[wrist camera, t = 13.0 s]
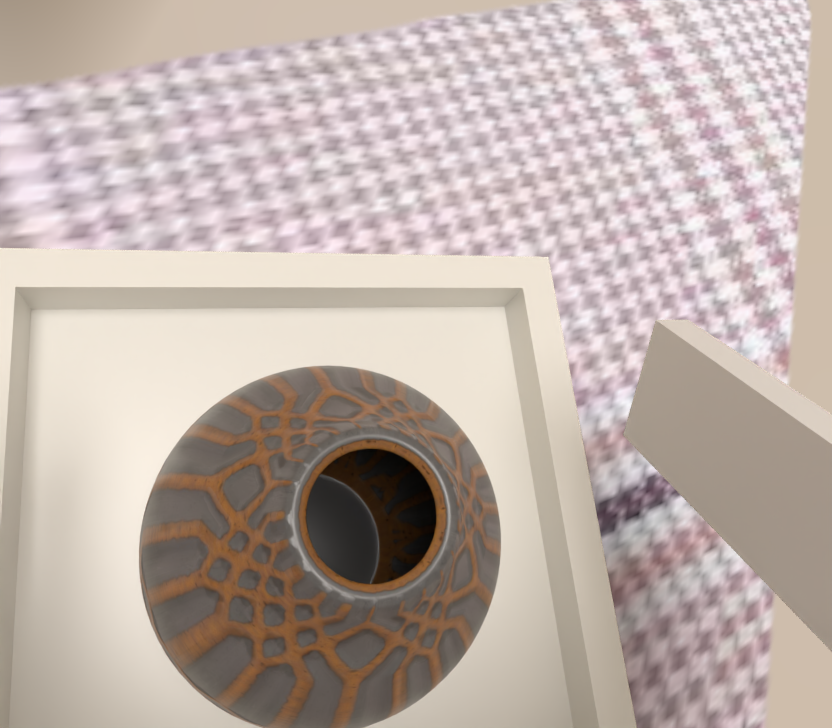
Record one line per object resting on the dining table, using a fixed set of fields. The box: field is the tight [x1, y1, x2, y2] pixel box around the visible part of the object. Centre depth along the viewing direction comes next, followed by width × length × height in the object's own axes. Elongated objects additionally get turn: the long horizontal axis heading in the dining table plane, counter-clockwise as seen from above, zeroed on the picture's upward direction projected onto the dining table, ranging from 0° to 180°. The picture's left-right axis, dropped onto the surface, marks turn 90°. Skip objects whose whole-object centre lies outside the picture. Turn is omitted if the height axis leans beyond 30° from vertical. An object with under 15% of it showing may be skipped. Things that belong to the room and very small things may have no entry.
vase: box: [139, 365, 501, 728], centre depth 13 cm, size 7×7×9 cm
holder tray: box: [0, 248, 637, 728], centre depth 17 cm, size 15×15×2 cm
